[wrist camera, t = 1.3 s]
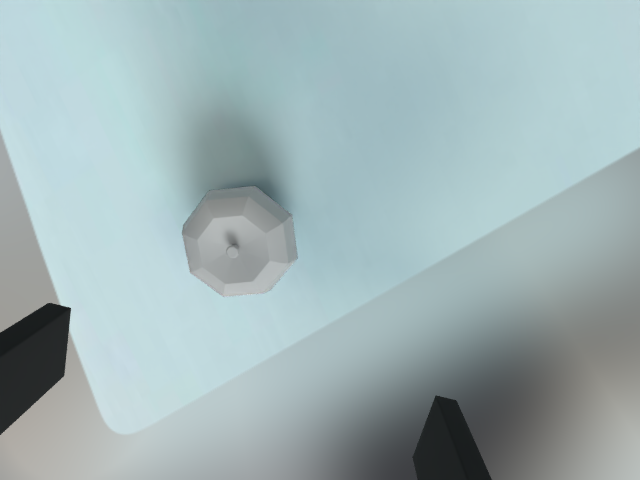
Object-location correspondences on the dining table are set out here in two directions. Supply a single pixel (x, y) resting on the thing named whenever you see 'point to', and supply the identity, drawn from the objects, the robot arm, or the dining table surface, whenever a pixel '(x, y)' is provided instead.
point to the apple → (239, 241)
